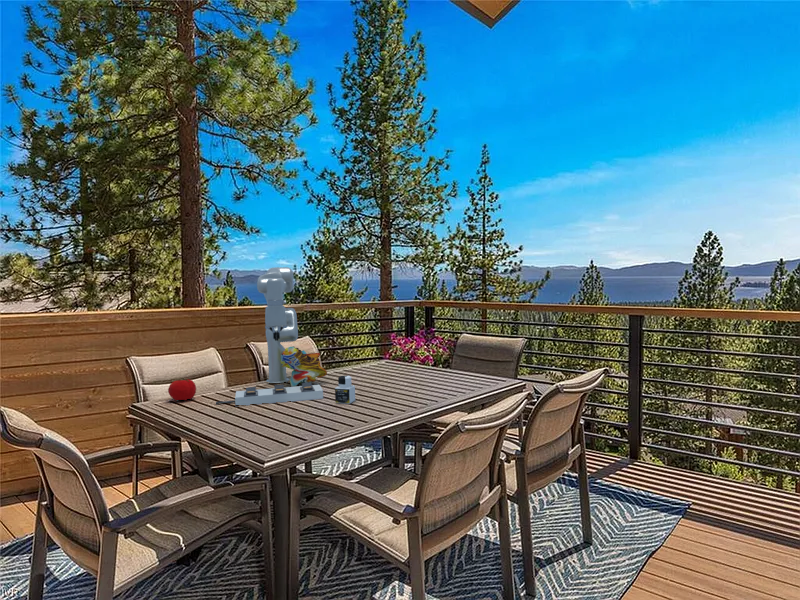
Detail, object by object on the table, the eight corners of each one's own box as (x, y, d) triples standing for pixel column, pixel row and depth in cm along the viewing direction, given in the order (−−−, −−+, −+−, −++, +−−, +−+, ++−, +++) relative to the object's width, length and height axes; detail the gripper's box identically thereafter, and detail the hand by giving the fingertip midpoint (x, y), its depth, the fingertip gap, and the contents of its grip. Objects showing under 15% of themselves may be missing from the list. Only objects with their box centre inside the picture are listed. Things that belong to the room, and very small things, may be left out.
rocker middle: (274, 387, 251) (274, 385, 250) (283, 387, 252) (283, 384, 252) (275, 393, 244) (274, 390, 244) (284, 392, 245) (284, 390, 245)
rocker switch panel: (216, 401, 250) (216, 391, 249) (319, 392, 263) (319, 383, 262) (214, 408, 236) (213, 398, 236) (323, 398, 249) (322, 389, 249)
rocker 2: (301, 385, 254) (301, 383, 254) (311, 385, 255) (310, 382, 255) (303, 391, 248) (303, 388, 247) (312, 390, 249) (312, 387, 248)
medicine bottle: (335, 403, 240) (334, 377, 239) (341, 399, 246) (340, 374, 246) (349, 404, 237) (348, 377, 237) (355, 400, 244) (354, 374, 244)
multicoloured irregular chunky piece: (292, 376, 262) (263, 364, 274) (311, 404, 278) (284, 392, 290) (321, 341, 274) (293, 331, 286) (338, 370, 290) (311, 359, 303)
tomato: (190, 403, 247) (189, 380, 247) (164, 403, 247) (163, 381, 247) (201, 396, 261) (200, 375, 260) (176, 397, 261) (175, 376, 260)
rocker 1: (246, 390, 247) (246, 387, 247) (255, 389, 248) (255, 386, 248) (246, 396, 241) (245, 393, 240) (255, 395, 242) (255, 392, 242)
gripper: (290, 302, 265) (291, 338, 265) (259, 303, 261) (261, 340, 261) (291, 303, 257) (292, 340, 258) (259, 304, 253) (261, 342, 254)
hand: (276, 340), depth 260 cm, fingers closed
